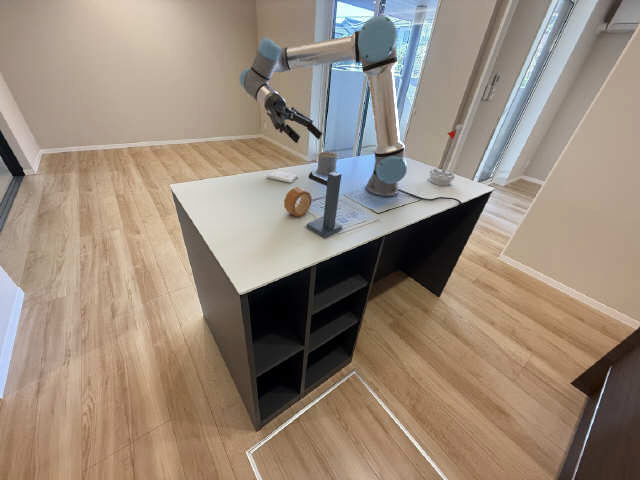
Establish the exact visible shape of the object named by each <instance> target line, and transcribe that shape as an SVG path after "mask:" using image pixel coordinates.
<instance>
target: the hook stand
mask: <svg viewBox="0 0 640 480" xmlns="http://www.w3.org/2000/svg"><path fill="white" fill-rule="evenodd" d="M308 179H310V180H312V181H314V182H316V183H318V184H321V185H323V186H326V190H325V191H326V192H325V202H324V209H323V210H324V211H323V216H321V217H319V218H316V219H314V220H312V221H310V222H308V223H306V228H307V229H309V231H310V230H311V231H312V232H314V233H316V234H317V235H319V236H321V237H322V238H324V239H326V238H328V237H330V236H331V235H334V234H335V233H337V232H339V231H341V230H342V227H343V226H342V224H340V223H338V222H336V219H337V211H338V204H339V197H340V188H341V182H342V173H339V172H337V171H335V172H331V173H328V176H327V179H325V178H323V177H321V176H318V175H315V174H314V173H313V172H312V171H310V172H309V174H308Z"/></svg>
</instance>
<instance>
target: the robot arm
mask: <svg viewBox="0 0 640 480" xmlns="http://www.w3.org/2000/svg"><path fill="white" fill-rule="evenodd" d="M397 39H398V33H397V27H396V25H395V23H394V22H393V20H391V19H390V18H389V17H387V16H386V15H383V14H382V15H381V14H380V15H374V16H372V17H370V18H369V19H367V20H366V22H365V23H364V24H363V25H362V27H361V28H360V30H356V31H353V33H352V34H351V35H348V36H342V37H337V38H332V39H326V40H321V41H320V40H319V41H315V42H310V43H304V44H303V43H302V44H298V45H291V46H287V47H280V46H279V45H278V44H277V43H276V42H274V41H273V40H272V39H270V38H268V37H266V36H265V37H262V39H261V41H260V43H259V45H258V47H257V51H256V54H255V57H254V59H253V62H252V64H251V67H246V68H245V69H244V70H243V71H242V72H241V73H240V75H239V84H240V86H241V87H242V88H243V89H244V91H245V92H246V93H247V94H248V95H250V96H251V98H253V99H254V100H255V101H256V102H257V103H258V104H259V105H260V106H261V107H262V109H264V110H266V114H267V116H268V117H269V118H270V121H271V122H272V126H273V127H274V129H275V130H277V131H278V133H282V134H283V133H284V134H285V135H286V136H288V137H289V138H290V139H291V140H292V141H293V142H294V144H298V142H299V140H300V138H301V135H300V134H299V133H297V131H296V130H294V129H293V127H291V126H290V125H289V123H288V124H286V121H291V122H295V123H297V124H299V125H302V126H303V127H305V128H306V130H308V131H309V132H310V133H311V135H313V136H314V137H315V138H316V139H317V140H320V139H321V137H322V136H323V132H322V131H321V130H319V128H318V127H316V126H315V124H313V123H314V119H312V118H311V117H309V116H307V115H306V114H303V113H302V112H301V111H299V110H297V109H296V108H295V107H294V106H291V108H290V107H288V106H287V103H286V100H285V99H284V97H283V96H282V95H280V94H279V93H278V92H277V90H275V89H274V88H273V87H272V86H271V85H270V84H269V82H270V80H271V79H272V77H273V73H284V72H287V71H295V70H301V69H305V68H313V67H318V66H325V65H326V66H327V65H332V64H339V63H345V62H351V61H352V62H354V63H355V64H359V63H360V64H361V68H362V74H363V75H365V76H366V77H367V78H368V79H367V80H368V87H369V93H370V94H369V95H370V100H371V107H372V110H371V111H372V116H373V125H374V132H375V138H376V139H375V140H376V148H375V149H374V151H373V153H374V159H375V160H374V161H375V162H374V167H373V172H372V174H371V176H370V178H369V179H368V181H367V184H366V187H365V188H366V191H367V192H369V193H370V194H372V195H374V196H378V197H381V198H382V197H383V198H392V197H395V196H397V194H398V192H400V193H403V194H406V195H407V196H411V197H414V198H415V199H419V200H423V201H436V200H440V199H441V200H453V201H456V202H458V203H459V205H463V202H462V201H461V200H460V199H457V198H455V197H448V196H446V197H445V196H437V197H434V198H426V197H421V196H418V195H415V194H413V193H409V192H407V191H404V190H401V189H399V184H398V182H400V181H402V180H403V179H404V177H405V176H406V174H407V171H408V163H407V161H406V152H405V151H406V145H405V144H404V143H403V142H401V139H400V130H399V129H400V128H399V118H398V108H397V96H396V86H395V74H394V69H395V68H396V66H397V64H398V51H397Z"/></svg>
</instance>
